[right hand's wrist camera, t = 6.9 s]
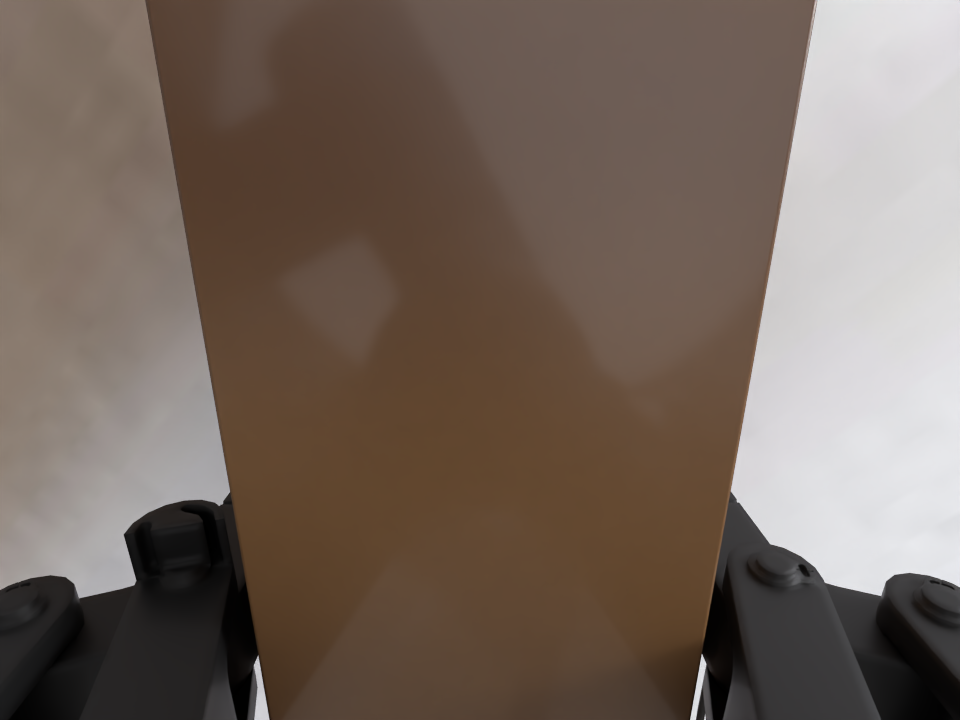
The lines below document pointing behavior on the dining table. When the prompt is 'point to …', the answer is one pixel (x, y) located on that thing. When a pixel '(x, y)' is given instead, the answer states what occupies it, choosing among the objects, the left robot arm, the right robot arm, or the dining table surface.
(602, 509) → the bar
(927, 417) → the dining table surface
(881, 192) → the dining table surface
